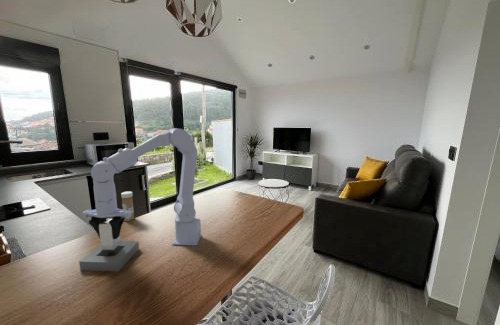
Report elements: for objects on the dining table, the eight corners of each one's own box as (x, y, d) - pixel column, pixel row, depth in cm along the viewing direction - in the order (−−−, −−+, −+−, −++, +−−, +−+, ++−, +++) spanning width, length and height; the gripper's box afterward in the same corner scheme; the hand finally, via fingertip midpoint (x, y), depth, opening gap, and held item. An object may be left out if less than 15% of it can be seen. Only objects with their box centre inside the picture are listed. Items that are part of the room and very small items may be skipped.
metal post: (120, 243, 73) (118, 218, 72) (113, 249, 69) (111, 224, 68) (109, 243, 73) (106, 218, 72) (101, 249, 69) (98, 224, 68)
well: (138, 248, 78) (138, 241, 77) (118, 271, 66) (117, 262, 65) (106, 247, 78) (105, 240, 77) (80, 270, 66) (79, 261, 65)
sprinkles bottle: (135, 220, 100) (132, 193, 97) (123, 222, 97) (121, 194, 95) (134, 216, 104) (131, 190, 101) (123, 218, 101) (120, 191, 99)
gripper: (135, 194, 72) (137, 231, 74) (91, 194, 72) (96, 230, 74) (123, 202, 65) (126, 242, 68) (75, 201, 65) (80, 242, 67)
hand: (109, 237), depth 70 cm, fingers closed on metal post, 4 cm apart
